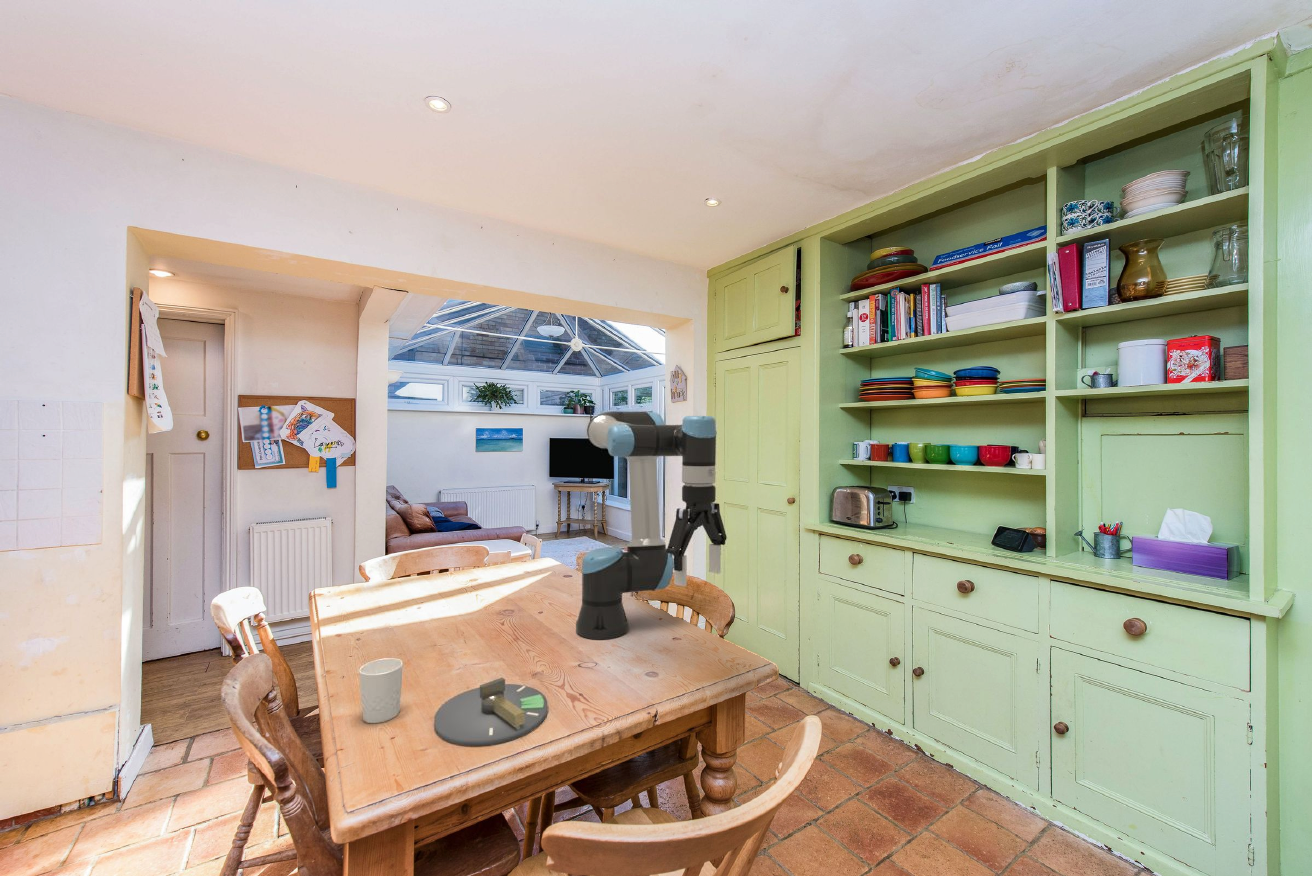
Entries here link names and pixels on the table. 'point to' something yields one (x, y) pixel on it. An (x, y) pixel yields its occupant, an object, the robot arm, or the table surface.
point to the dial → (488, 717)
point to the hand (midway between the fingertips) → (698, 578)
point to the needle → (500, 702)
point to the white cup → (380, 689)
